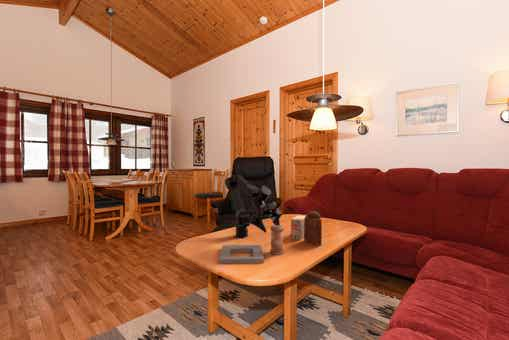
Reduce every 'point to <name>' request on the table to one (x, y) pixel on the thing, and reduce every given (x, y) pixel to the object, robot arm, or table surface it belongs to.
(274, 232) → the cord spool
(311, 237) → the wooden figurine
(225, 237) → the table surface
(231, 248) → the gray square frame
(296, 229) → the stack of blocks
